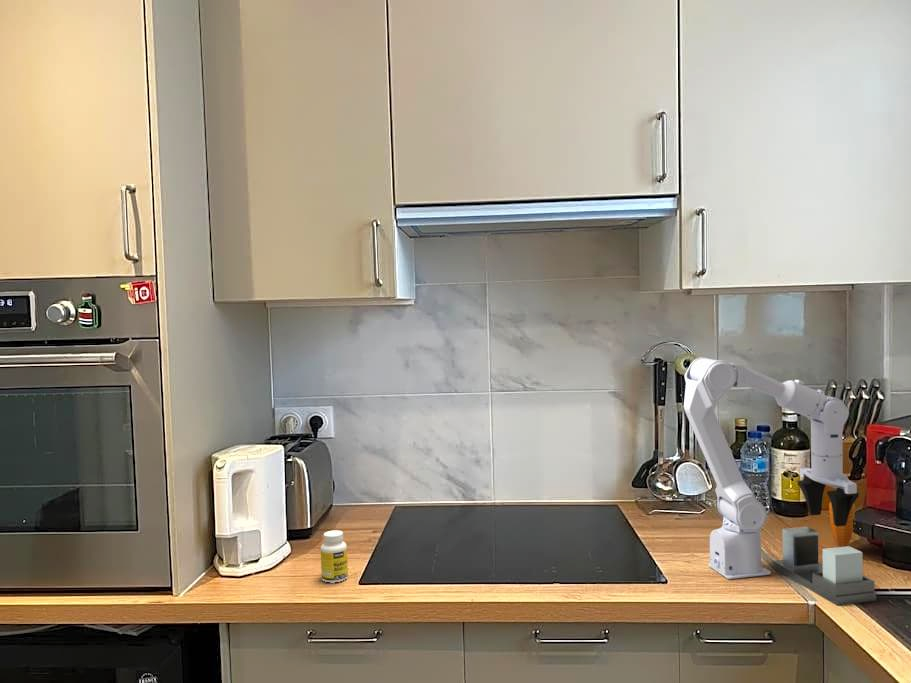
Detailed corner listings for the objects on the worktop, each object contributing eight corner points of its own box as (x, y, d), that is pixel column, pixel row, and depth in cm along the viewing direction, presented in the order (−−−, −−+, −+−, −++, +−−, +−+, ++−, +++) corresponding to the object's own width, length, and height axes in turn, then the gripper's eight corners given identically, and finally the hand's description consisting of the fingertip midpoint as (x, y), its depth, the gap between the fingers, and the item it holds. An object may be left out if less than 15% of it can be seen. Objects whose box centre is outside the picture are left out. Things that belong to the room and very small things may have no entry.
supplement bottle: (335, 586, 148) (333, 538, 147) (316, 581, 151) (314, 534, 150) (353, 577, 152) (351, 531, 152) (334, 572, 155) (332, 527, 155)
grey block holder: (836, 605, 130) (836, 558, 129) (772, 567, 148) (772, 527, 148) (876, 600, 131) (875, 554, 131) (807, 564, 150) (807, 523, 149)
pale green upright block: (862, 590, 132) (862, 552, 132) (835, 593, 131) (835, 555, 131) (847, 582, 136) (847, 545, 136) (821, 585, 135) (821, 548, 135)
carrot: (852, 548, 158) (851, 480, 157) (858, 556, 153) (857, 486, 152) (827, 547, 159) (826, 479, 158) (832, 554, 154) (831, 485, 154)
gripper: (870, 460, 141) (870, 528, 142) (820, 446, 155) (821, 508, 156) (837, 462, 140) (838, 531, 141) (790, 448, 154) (791, 511, 155)
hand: (827, 519), depth 148 cm, fingers open, 7 cm apart
